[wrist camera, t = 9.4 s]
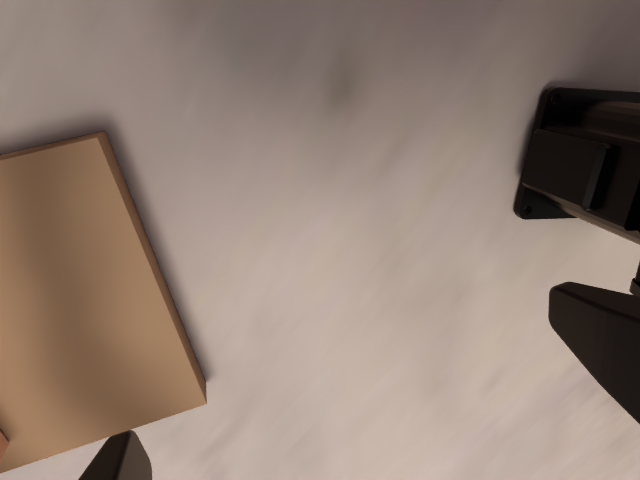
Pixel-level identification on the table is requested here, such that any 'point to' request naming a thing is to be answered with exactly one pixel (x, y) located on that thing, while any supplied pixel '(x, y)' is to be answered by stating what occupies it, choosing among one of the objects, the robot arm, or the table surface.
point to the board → (82, 307)
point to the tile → (3, 445)
